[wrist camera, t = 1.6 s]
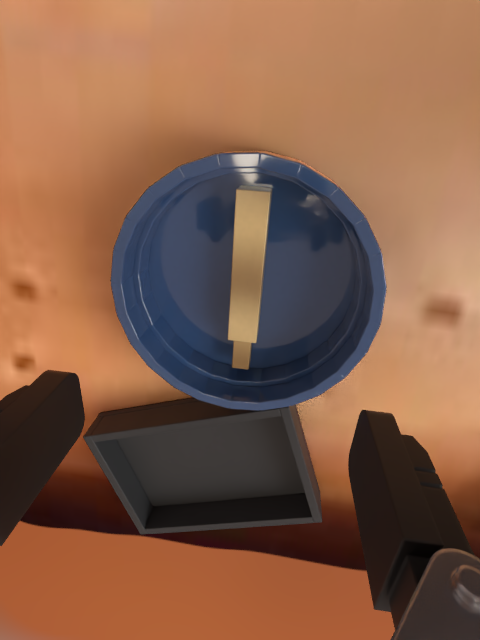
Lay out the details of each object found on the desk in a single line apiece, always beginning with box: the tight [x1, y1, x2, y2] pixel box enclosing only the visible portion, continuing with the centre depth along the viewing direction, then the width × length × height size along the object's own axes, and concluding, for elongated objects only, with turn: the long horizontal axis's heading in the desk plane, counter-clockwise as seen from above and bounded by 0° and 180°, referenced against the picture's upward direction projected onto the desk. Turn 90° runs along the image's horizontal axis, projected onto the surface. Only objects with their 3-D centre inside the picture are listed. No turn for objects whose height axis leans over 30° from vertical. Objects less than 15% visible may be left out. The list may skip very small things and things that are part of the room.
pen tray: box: [83, 398, 322, 534], centre depth 26 cm, size 14×10×2 cm
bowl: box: [111, 151, 387, 411], centre depth 19 cm, size 13×13×4 cm
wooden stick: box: [228, 186, 272, 370], centre depth 20 cm, size 10×2×2 cm, turn 176°
